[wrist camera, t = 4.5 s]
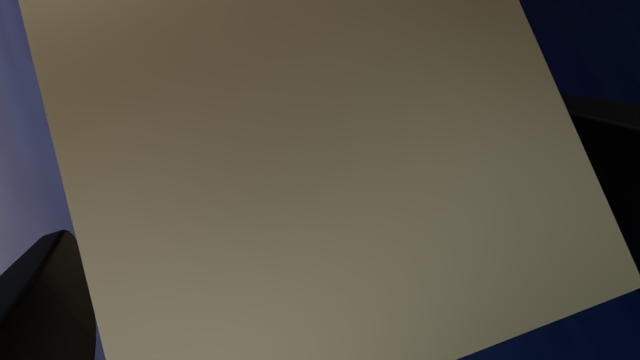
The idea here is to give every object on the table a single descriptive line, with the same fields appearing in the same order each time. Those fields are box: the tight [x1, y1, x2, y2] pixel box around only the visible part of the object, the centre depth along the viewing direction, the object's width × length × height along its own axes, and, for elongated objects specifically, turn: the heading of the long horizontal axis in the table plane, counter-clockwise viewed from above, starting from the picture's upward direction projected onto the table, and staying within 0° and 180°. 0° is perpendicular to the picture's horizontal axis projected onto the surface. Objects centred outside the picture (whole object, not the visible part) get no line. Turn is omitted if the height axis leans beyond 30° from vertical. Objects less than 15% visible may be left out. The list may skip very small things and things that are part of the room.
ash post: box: [18, 0, 640, 360], centre depth 10 cm, size 5×5×12 cm
